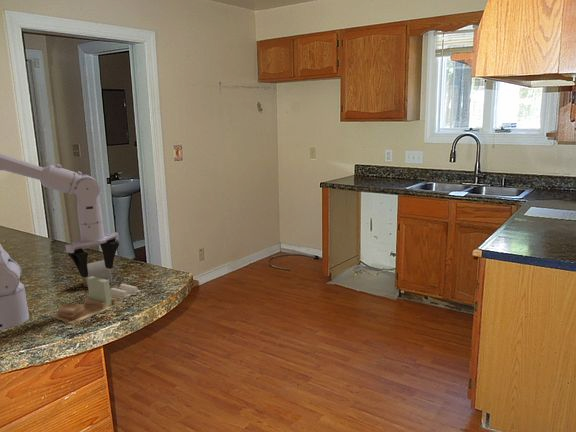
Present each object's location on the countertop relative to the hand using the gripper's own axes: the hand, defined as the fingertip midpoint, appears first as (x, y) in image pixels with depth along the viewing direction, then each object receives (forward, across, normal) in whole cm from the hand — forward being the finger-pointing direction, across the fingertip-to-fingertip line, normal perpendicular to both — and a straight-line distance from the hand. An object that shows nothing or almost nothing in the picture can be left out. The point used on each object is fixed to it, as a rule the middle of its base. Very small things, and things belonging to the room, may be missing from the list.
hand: (97, 272), depth 124 cm
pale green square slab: (+9, 0, 0) cm, 9 cm away
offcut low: (+9, -8, 0) cm, 12 cm away
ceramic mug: (+10, +10, +15) cm, 21 cm away
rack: (+10, -4, 0) cm, 11 cm away
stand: (+10, +8, +1) cm, 13 cm away
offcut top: (+8, -8, 0) cm, 11 cm away
